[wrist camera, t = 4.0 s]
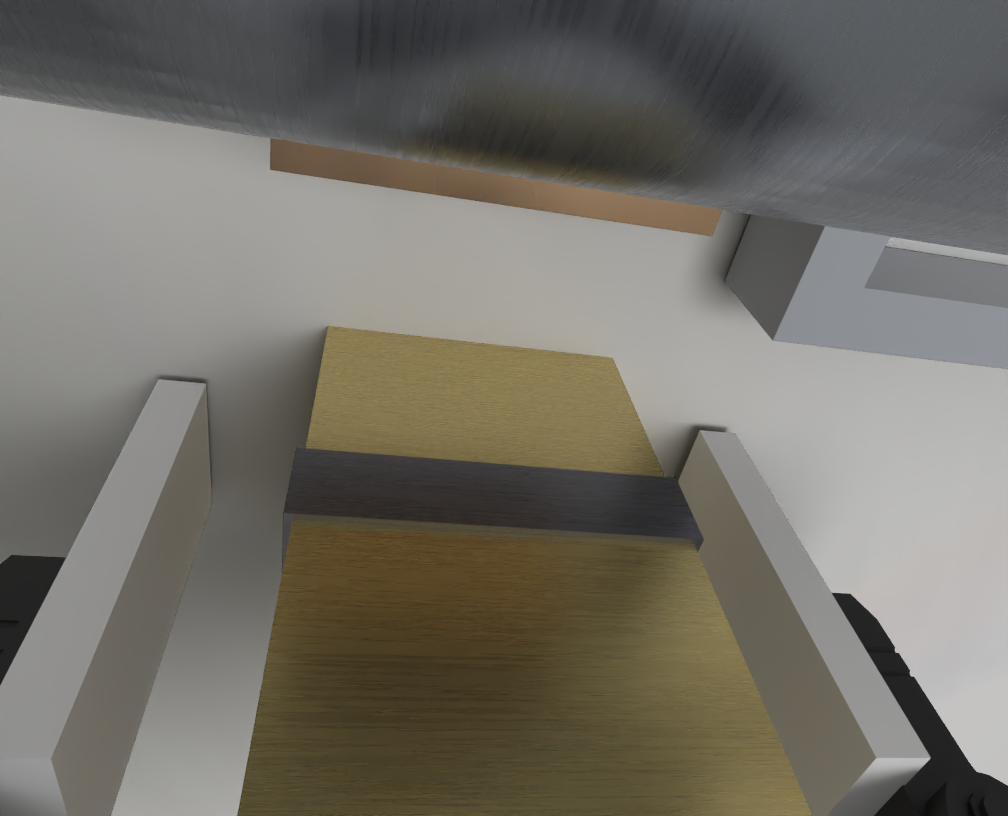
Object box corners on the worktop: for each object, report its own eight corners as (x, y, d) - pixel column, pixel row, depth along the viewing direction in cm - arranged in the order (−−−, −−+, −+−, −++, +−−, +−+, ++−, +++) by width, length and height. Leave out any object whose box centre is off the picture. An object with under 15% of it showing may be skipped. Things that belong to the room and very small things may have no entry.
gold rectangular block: (310, 542, 15) (233, 1044, 8) (322, 319, 12) (221, 823, 6) (553, 555, 16) (653, 1013, 9) (619, 353, 13) (829, 813, 7)
